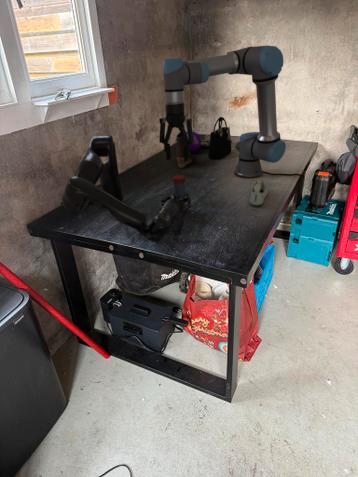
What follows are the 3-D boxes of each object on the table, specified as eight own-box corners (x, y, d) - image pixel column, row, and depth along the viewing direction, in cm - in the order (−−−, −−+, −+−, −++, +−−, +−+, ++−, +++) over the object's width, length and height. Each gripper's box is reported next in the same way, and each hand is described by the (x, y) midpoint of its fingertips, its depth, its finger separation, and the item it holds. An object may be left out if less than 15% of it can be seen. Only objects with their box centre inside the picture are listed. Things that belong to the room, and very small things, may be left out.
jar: (174, 209, 154) (171, 177, 146) (182, 206, 156) (181, 175, 148) (178, 212, 150) (176, 180, 142) (187, 210, 152) (186, 178, 144)
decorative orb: (204, 151, 235) (204, 129, 228) (194, 156, 225) (193, 134, 217) (186, 149, 243) (186, 128, 235) (175, 154, 232) (174, 132, 224)
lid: (171, 181, 147) (170, 176, 146) (181, 178, 149) (181, 174, 148) (176, 184, 143) (176, 180, 142) (187, 181, 145) (187, 177, 144)
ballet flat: (269, 188, 169) (270, 173, 165) (265, 208, 149) (266, 191, 145) (252, 187, 171) (253, 172, 167) (246, 206, 151) (247, 190, 147)
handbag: (219, 160, 215) (219, 120, 202) (207, 158, 219) (206, 119, 207) (232, 152, 230) (233, 114, 217) (220, 150, 234) (221, 113, 222)
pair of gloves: (198, 150, 238) (197, 143, 235) (183, 143, 258) (183, 136, 256) (233, 144, 247) (234, 137, 245) (217, 137, 268) (217, 131, 265)
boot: (194, 157, 223) (193, 127, 213) (188, 169, 203) (187, 135, 193) (182, 157, 225) (180, 127, 215) (174, 168, 205) (172, 136, 194)
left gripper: (155, 217, 142) (167, 201, 156) (187, 220, 138) (197, 203, 152) (154, 201, 138) (166, 186, 152) (186, 203, 134) (196, 188, 148)
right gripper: (202, 101, 129) (202, 159, 140) (155, 101, 136) (159, 156, 148) (195, 104, 123) (196, 164, 134) (147, 104, 130) (152, 160, 142)
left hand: (181, 195), depth 152 cm, fingers closed on jar, 4 cm apart
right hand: (177, 160), depth 141 cm, fingers open, 7 cm apart
